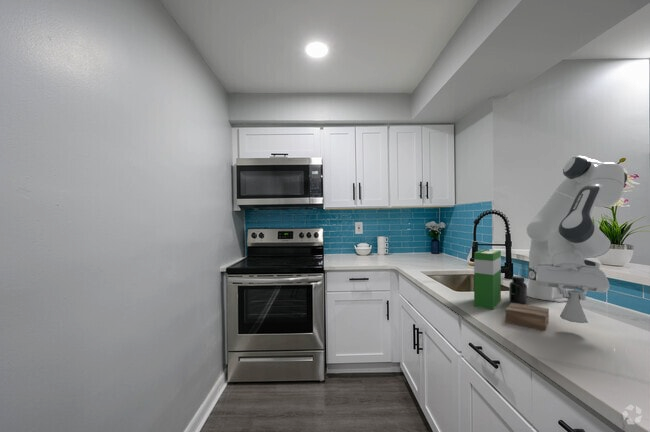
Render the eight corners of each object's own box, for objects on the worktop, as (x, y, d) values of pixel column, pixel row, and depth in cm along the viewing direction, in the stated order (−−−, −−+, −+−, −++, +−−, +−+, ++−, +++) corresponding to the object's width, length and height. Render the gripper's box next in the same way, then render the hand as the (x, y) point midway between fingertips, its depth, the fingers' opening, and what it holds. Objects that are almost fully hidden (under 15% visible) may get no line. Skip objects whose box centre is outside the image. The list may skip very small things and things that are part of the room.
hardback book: (483, 298, 143) (483, 249, 144) (500, 300, 139) (500, 250, 139) (474, 306, 130) (474, 252, 130) (492, 309, 125) (493, 254, 125)
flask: (593, 324, 97) (593, 294, 97) (569, 323, 98) (569, 293, 98) (577, 317, 104) (578, 289, 104) (555, 315, 105) (555, 288, 105)
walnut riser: (511, 314, 119) (511, 302, 119) (548, 321, 111) (548, 308, 111) (505, 322, 110) (505, 309, 110) (545, 330, 102) (545, 316, 102)
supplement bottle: (507, 302, 136) (507, 276, 136) (510, 299, 141) (510, 274, 141) (525, 305, 131) (525, 279, 131) (527, 302, 136) (528, 276, 136)
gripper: (534, 258, 112) (539, 289, 103) (604, 263, 102) (616, 298, 94) (531, 268, 116) (536, 298, 107) (599, 273, 107) (610, 307, 98)
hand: (574, 298), depth 100 cm, fingers closed on flask, 3 cm apart
